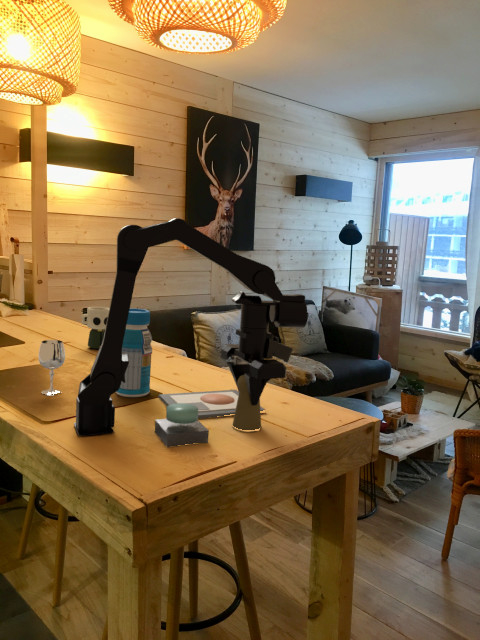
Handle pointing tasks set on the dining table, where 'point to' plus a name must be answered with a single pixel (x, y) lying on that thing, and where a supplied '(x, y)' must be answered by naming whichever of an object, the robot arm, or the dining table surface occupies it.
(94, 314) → the character mug
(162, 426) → the button housing
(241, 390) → the brown tapered upright piece
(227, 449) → the dining table surface
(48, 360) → the wineglass
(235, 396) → the drawing board
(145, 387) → the beverage bottle
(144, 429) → the dining table surface
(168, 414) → the button
